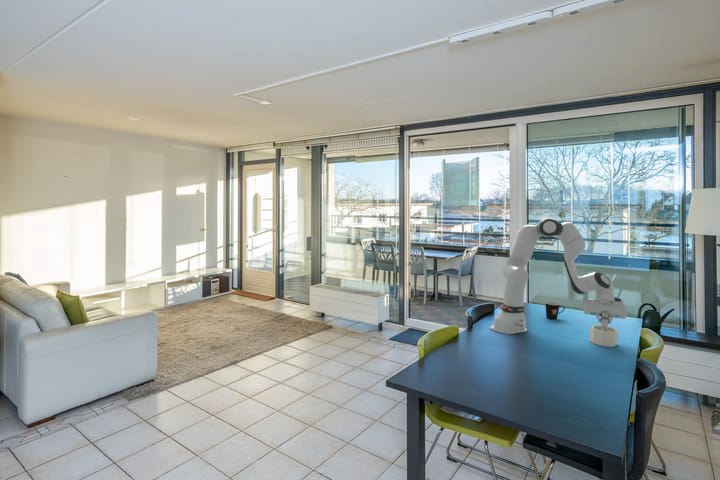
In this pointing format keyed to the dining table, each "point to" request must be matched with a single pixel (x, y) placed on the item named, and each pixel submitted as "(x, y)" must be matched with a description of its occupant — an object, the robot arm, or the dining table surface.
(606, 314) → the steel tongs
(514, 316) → the robot arm
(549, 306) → the coffee mug
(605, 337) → the round wooden bowl
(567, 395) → the dining table surface
